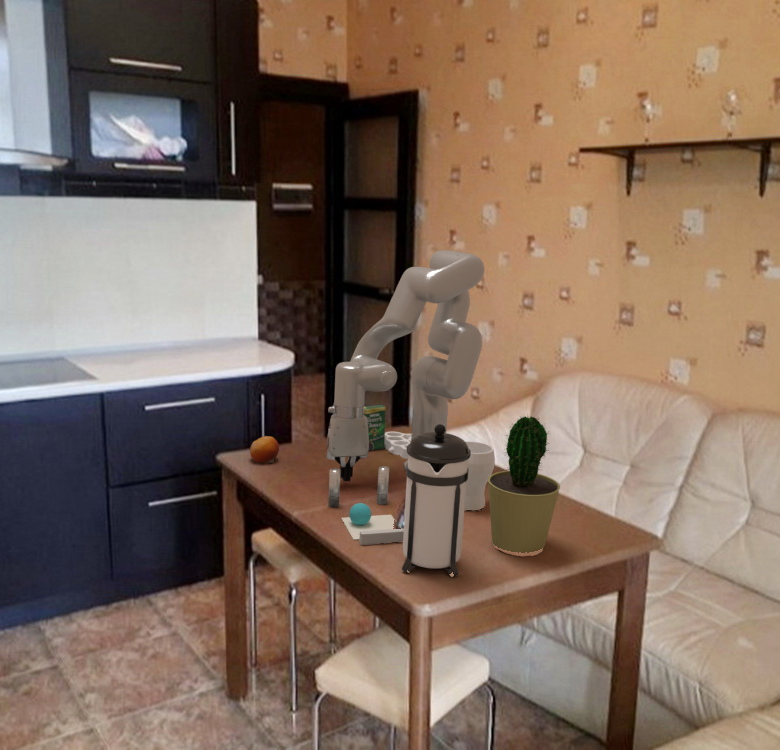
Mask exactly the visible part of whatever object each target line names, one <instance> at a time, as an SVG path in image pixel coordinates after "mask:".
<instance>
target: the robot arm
mask: <svg viewBox="0 0 780 750" xmlns="http://www.w3.org/2000/svg"><path fill="white" fill-rule="evenodd" d="M484 274H485V265H484V261H483V260H482V259H481V257H479V256H478V255H476V254H473V253H467V252H462V251H461V252H460V251H453V250H447V249H445V250H443V249H442V250H438V251H436V252H433V254H432V255H431V257H430V259H429V267H424V266H411V267H409V268H407V269H406V270H405V271H404V272H403V274H402V275H401V277H400V280H399V281H398V284H397V285H396V288H395V291H394V293H393V295H392V296H391V299H390V302H389V304H388V306H387V308H386V310H385V313H384V314H383V317H382V318H381V319H379V321H377V322H376V323H375V324H374V325H372V327H371V328H370V329H368V331H367V332H365V333H364V335H363V336H362V337H361V339H360V340H359V341H358V343H357V345H356V347H355V350H354V352H353V354H352V356H351V359H350V361H342V362H339V363H338V364H337V365H336V367H335V375H334V377H335V378H334V400H333V401H334V402H333V405H332V406H329V407H328V408H327V409H328V413H331V414H332V415H331V416H330V420H329V421H330V422H329V425H328V431H327V432H328V433H327V440H326V448H327V452H326V455H325V457H326V458H327V460H330V461H336V462H337V463H338V465H340V467H339V469H340V479H341V480H342V481H343V482H344V483H346V482H348V483H349V482H351V480H352V479H351V478H353V474H354V467H355V466H356V464H357V462H358V461H360V460H363V459H365V458H366V459H367V458H368V457H369V454H368V453H369V451H368V450H369V434H368V422H367V417H366V416H365V415H364V407H365V393H366V392H386V391H389V390H390V389H392V388H393V387H394V386H395V385H396V383H397V380H398V373H397V371H396V368H395V367H394V366H392V365H391V364H390V363H387V362H386V361H383V360H379V359H378V357H379V355H380V354H381V352H382V350H383V349H384V348H385V347H386V346H387V345H388V344H389V343H391V342H393V341H394V340H396V339H398V338H399V339H400V338H401V337H404V336H406V335H409V334H411V333H412V332H413V331H414V330H415V328H416V326H417V323H418V321H419V318H420V316H421V314H422V312H423V310H424V308H425V305H426V303H429V304H436V309H435V312H434V315H433V318H432V322H431V325H430V328H429V333H428V335H427V343H428V345H429V347H430V348H431V349H432V350H433V351H434V352H437V353H440V354H443V355H446V356H448V357H447V359H445V358H441V357H438V356H436V355H435V356H433V355H426V356H425V355H424V356H421V357H420V358H418V359H417V360H416V361H415V362H414V363H413V366H412V368H411V372H410V373H411V375H410V376H411V387H412V396H413V403H412V405H413V406H412V418H411V433H410V434H411V440H412V439H413V438H414V437H416V436H418V435H420V434H424V433H431V432H435V430H434V429H435V427H436V426H437V425H438V424H442V425H444V426H445V429H446V431H445V433H447V426H448V416H449V405H448V399H449V400H458V399H461V398H462V397H464V396H465V394H467V392H468V390H469V388H470V386H471V383H472V380H473V377H474V374H475V371H476V368H477V365H478V362H479V359H480V355H481V351H482V347H483V338H482V334H481V331H480V330H479V328H477V326H476V325H474V324H472V323H468V322H467V319H468V318H467V317H468V315H469V309H470V305H471V297H470V291H469V290H471V289H472V288H474V287H476V286H477V285H478V284H479V283H481V280H482V279H483V277H484ZM346 457H348V459H347V462H346ZM407 463H408V459H406V461H405V462H404V463H403V468H404V470H405V471H406V466H407Z"/></svg>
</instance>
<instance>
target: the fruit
mask: <svg viewBox="0 0 780 750" xmlns="http://www.w3.org/2000/svg"><path fill="white" fill-rule="evenodd" d="M249 451H250V457H251V459H253V460H254V461H255V462H256V463H258V464H262V463H263V464H267V463H268V464H269V463H272V464H274V462H275V460H278V458H277V456H278V454H279V451H280V445H279V443H278V441H277V439H275V437H273V436H267V435H265V436H262V437H259V438H258V439H255V440H254V441H253V442H252V443H251V445H250V449H249Z"/></svg>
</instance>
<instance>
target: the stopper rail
mask: <svg viewBox="0 0 780 750" xmlns="http://www.w3.org/2000/svg"><path fill="white" fill-rule="evenodd" d="M400 528H401V529H387V530H372V531H360V539H359V542H358V543H359V545H361V546H369V545H380V543H384V544H390V543H389V542H398V543H402V542H401V541H403V537H404V527H400Z"/></svg>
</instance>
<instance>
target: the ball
mask: <svg viewBox="0 0 780 750" xmlns="http://www.w3.org/2000/svg"><path fill="white" fill-rule="evenodd" d="M371 516H372V511H371V508H370V506H368V505H367V504H365V503H362V502H358V503H355V504H354V505H352V506H351V507H350V510H349V514H348V517H350V519H351V521H352V522H353V523H354V524H356V525H364V524H366V523H368V522H369V520H370V518H371Z"/></svg>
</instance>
